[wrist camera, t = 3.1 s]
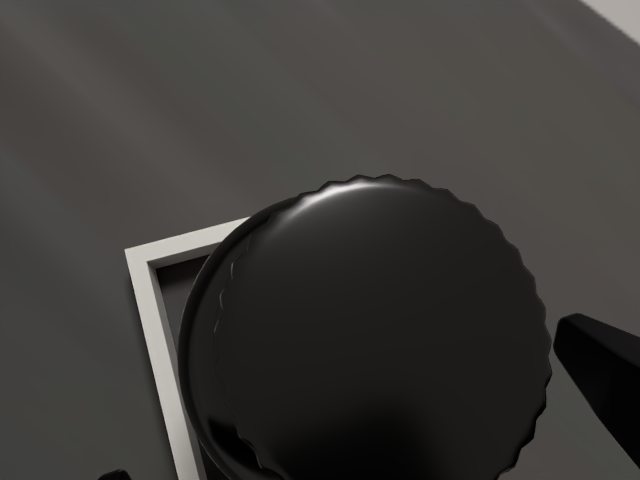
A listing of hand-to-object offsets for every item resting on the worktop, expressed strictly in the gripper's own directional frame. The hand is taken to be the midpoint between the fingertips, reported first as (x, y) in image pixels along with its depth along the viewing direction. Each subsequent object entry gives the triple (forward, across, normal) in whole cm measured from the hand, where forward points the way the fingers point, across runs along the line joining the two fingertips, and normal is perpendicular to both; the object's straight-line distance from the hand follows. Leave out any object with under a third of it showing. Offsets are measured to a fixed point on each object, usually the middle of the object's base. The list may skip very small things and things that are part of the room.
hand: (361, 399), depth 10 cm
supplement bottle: (+7, 0, +6) cm, 9 cm away
